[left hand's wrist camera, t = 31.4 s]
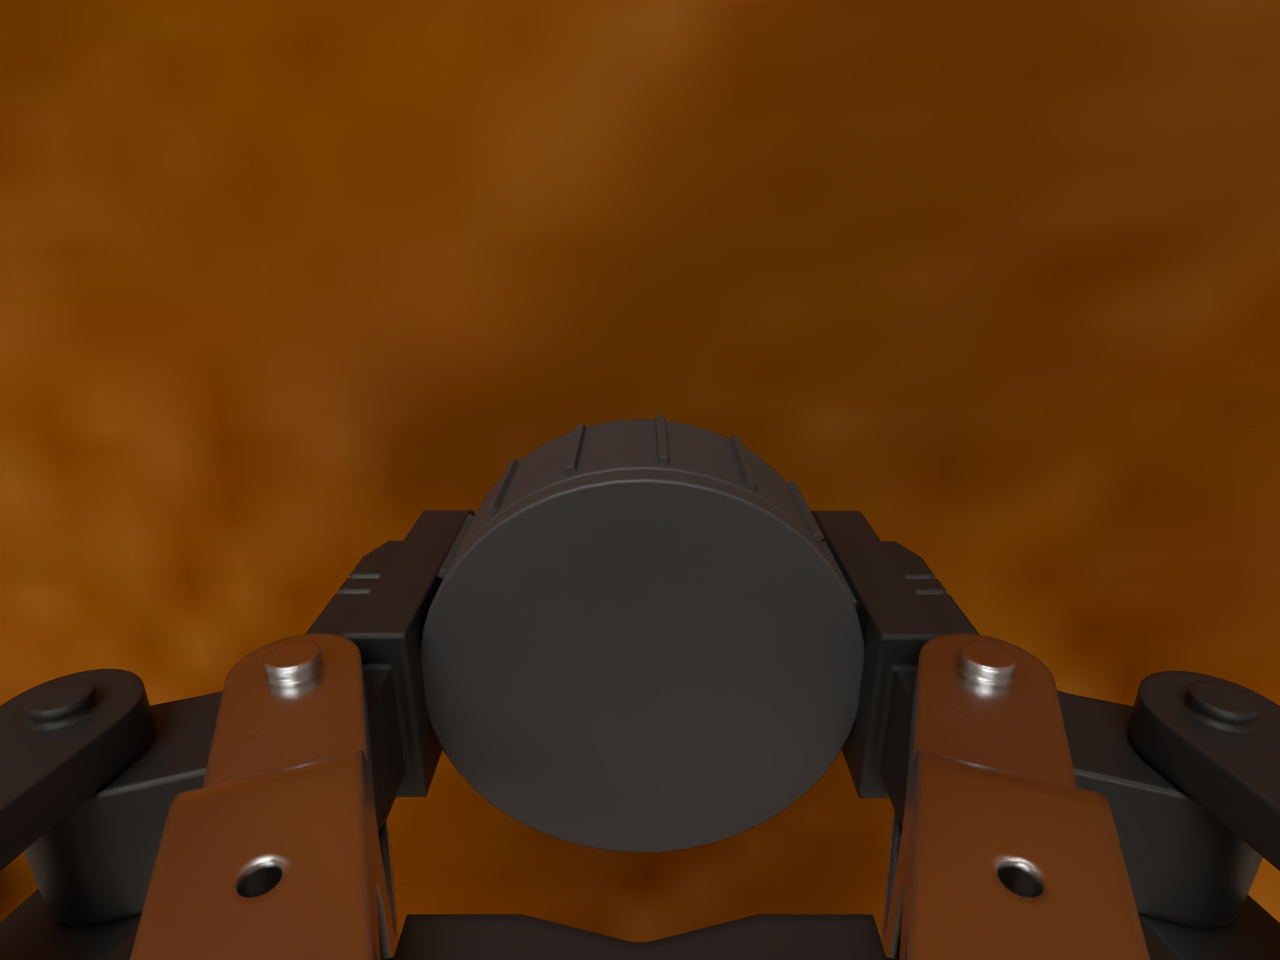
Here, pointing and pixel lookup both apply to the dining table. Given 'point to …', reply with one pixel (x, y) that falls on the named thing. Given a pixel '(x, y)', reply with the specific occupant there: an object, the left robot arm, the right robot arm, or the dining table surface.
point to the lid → (642, 641)
